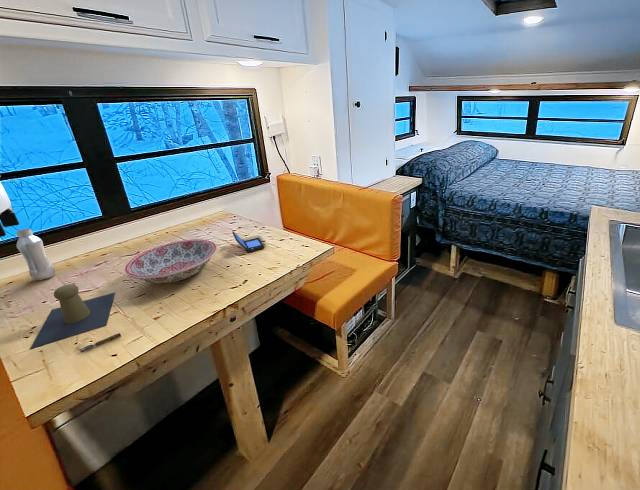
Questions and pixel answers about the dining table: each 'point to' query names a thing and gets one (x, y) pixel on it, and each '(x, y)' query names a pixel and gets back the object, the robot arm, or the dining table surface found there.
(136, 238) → the dining table surface
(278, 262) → the dining table surface
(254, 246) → the handheld console
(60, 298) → the cork
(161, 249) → the ceramic bowl
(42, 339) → the mat
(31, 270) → the plastic bottle
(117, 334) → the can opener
